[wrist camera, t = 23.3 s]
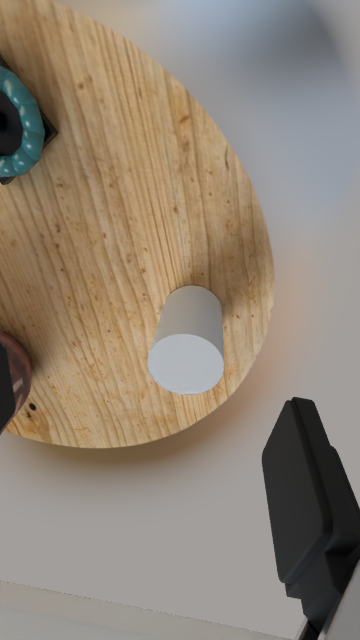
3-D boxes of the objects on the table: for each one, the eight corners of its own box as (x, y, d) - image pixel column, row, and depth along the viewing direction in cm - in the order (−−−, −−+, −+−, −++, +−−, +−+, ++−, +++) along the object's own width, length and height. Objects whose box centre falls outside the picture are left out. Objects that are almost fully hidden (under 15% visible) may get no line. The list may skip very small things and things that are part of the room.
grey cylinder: (156, 325, 45) (139, 381, 34) (174, 277, 41) (159, 323, 30) (209, 343, 45) (207, 403, 35) (231, 297, 41) (236, 349, 31)
